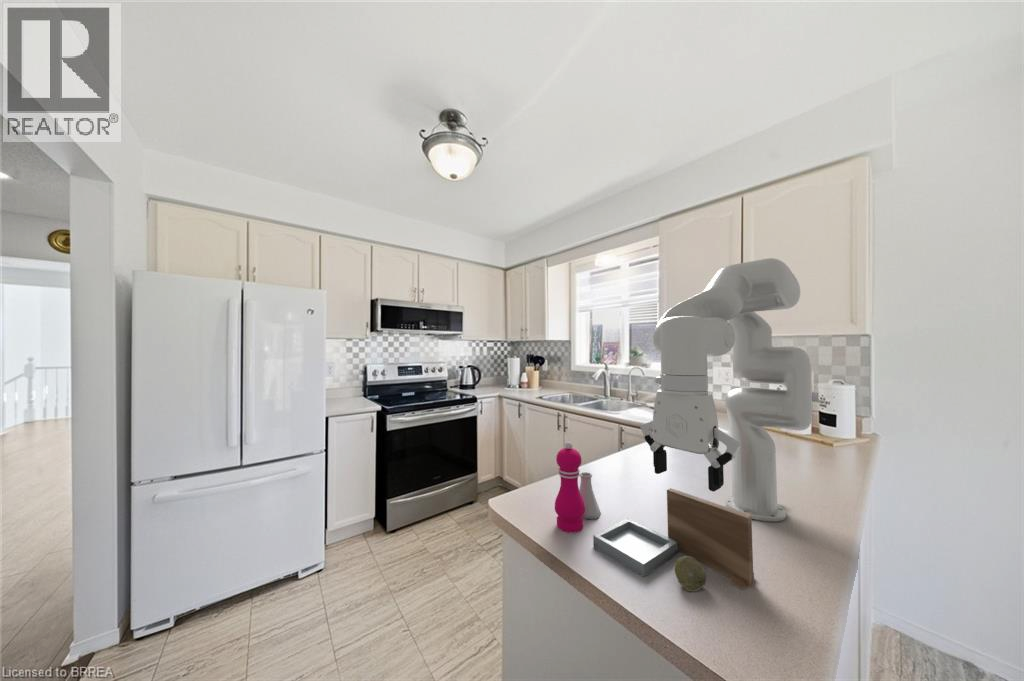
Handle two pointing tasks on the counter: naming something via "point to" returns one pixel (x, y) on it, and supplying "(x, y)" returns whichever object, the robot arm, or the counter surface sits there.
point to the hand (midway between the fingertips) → (686, 480)
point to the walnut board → (712, 535)
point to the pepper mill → (569, 491)
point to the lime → (690, 573)
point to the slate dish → (635, 546)
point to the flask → (588, 497)
